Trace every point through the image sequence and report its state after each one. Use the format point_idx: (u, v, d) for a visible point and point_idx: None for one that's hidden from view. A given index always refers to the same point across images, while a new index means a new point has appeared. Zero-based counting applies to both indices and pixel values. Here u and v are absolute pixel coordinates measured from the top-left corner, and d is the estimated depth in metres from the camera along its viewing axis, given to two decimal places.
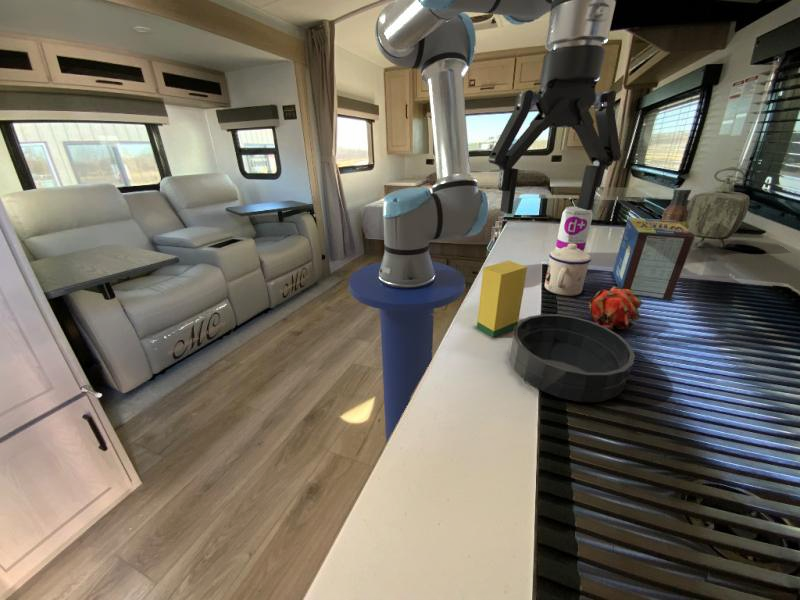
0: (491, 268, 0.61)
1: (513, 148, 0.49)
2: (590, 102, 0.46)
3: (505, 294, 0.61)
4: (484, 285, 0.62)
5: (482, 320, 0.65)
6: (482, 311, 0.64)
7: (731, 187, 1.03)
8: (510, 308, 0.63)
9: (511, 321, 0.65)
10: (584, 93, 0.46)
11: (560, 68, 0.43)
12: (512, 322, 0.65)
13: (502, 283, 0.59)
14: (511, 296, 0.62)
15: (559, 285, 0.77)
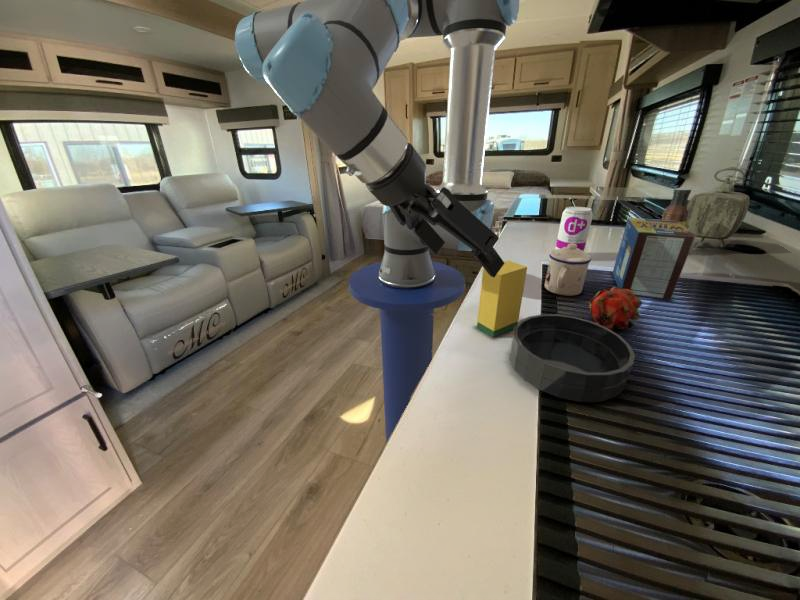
0: None
1: None
2: (423, 206, 0.42)
3: (505, 294, 0.61)
4: (484, 285, 0.62)
5: (482, 320, 0.65)
6: (482, 311, 0.64)
7: (731, 187, 1.03)
8: (510, 308, 0.63)
9: (511, 321, 0.65)
10: (413, 200, 0.42)
11: None
12: (512, 322, 0.65)
13: (502, 283, 0.59)
14: (511, 296, 0.62)
15: (559, 285, 0.77)
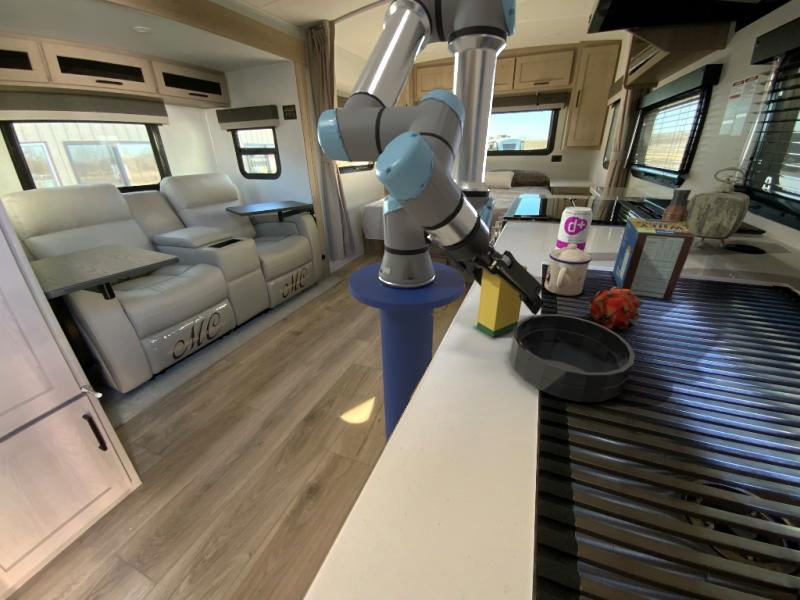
0: (491, 268, 0.61)
1: None
2: (486, 261, 0.52)
3: (505, 294, 0.61)
4: (484, 285, 0.62)
5: (482, 320, 0.65)
6: (482, 311, 0.64)
7: (731, 187, 1.03)
8: (510, 308, 0.63)
9: (511, 321, 0.65)
10: (477, 255, 0.52)
11: None
12: (512, 322, 0.65)
13: (502, 283, 0.59)
14: (511, 296, 0.62)
15: (559, 285, 0.77)
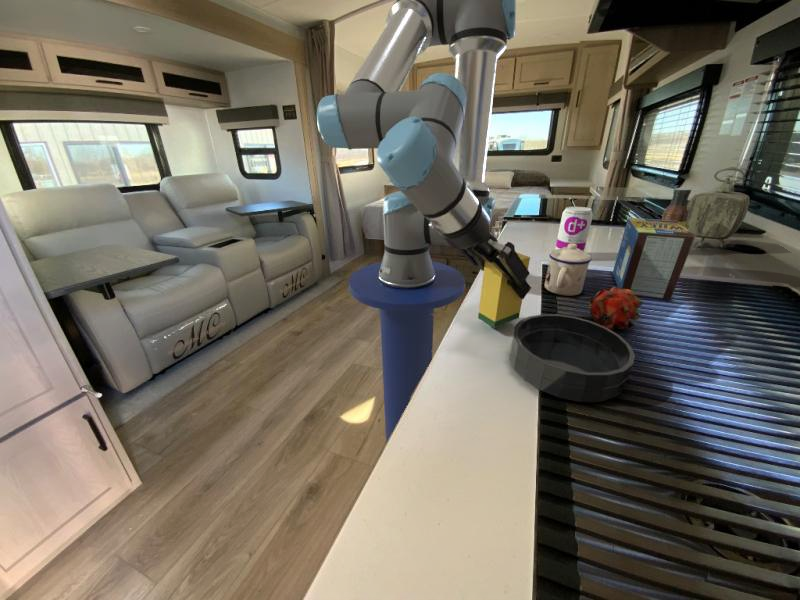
0: None
1: None
2: (486, 249, 0.52)
3: (507, 285, 0.60)
4: (486, 275, 0.61)
5: (483, 311, 0.64)
6: (484, 301, 0.64)
7: (731, 187, 1.03)
8: (512, 299, 0.63)
9: (513, 312, 0.65)
10: (478, 242, 0.51)
11: None
12: (514, 313, 0.65)
13: None
14: None
15: (559, 285, 0.77)
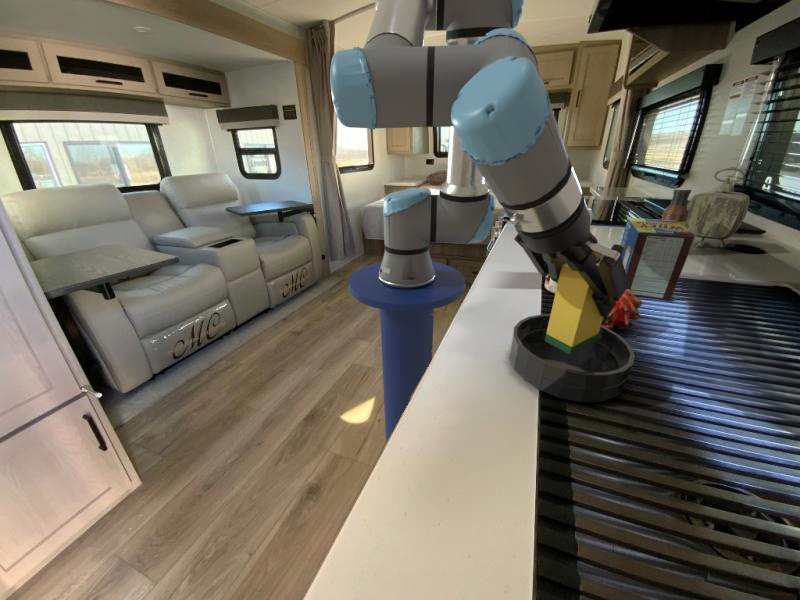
0: None
1: None
2: (581, 254, 0.38)
3: (591, 300, 0.46)
4: (562, 288, 0.48)
5: (554, 332, 0.51)
6: (556, 321, 0.50)
7: (731, 187, 1.03)
8: (593, 317, 0.49)
9: (591, 334, 0.51)
10: None
11: None
12: (592, 335, 0.51)
13: None
14: None
15: None
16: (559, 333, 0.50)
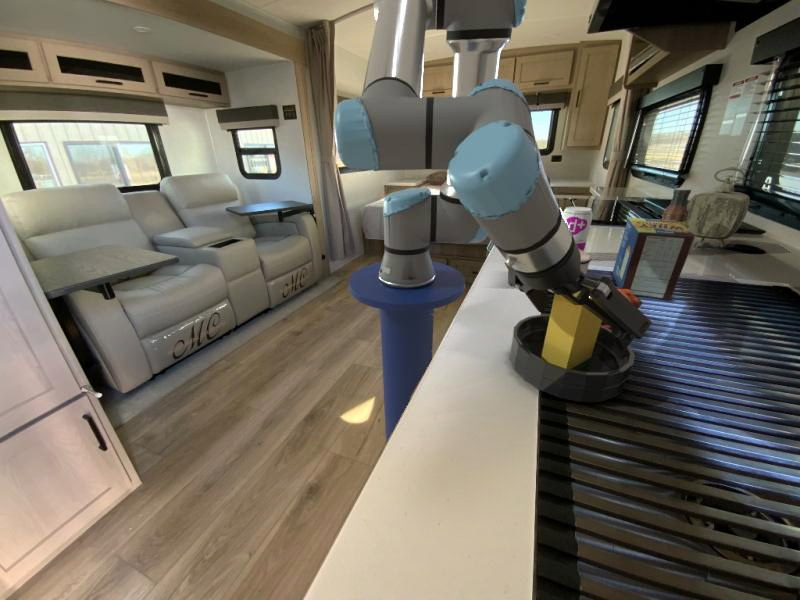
0: None
1: None
2: (572, 290, 0.40)
3: (583, 328, 0.49)
4: (555, 316, 0.50)
5: (548, 357, 0.53)
6: (550, 346, 0.52)
7: (731, 187, 1.03)
8: (585, 343, 0.51)
9: (584, 358, 0.53)
10: None
11: None
12: (585, 359, 0.53)
13: (582, 315, 0.47)
14: (588, 329, 0.50)
15: None
16: (553, 358, 0.52)
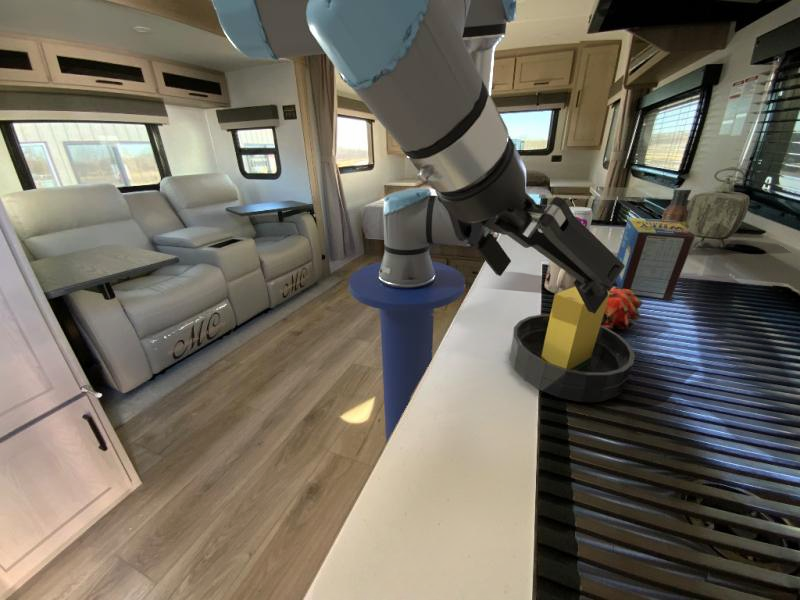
0: (565, 295, 0.49)
1: None
2: (518, 223, 0.30)
3: (583, 328, 0.49)
4: (555, 316, 0.50)
5: (548, 357, 0.53)
6: (550, 346, 0.52)
7: (731, 187, 1.03)
8: (585, 343, 0.51)
9: (584, 358, 0.53)
10: (503, 214, 0.30)
11: None
12: (585, 359, 0.53)
13: (582, 315, 0.47)
14: (588, 329, 0.50)
15: (559, 285, 0.77)
16: (553, 358, 0.52)
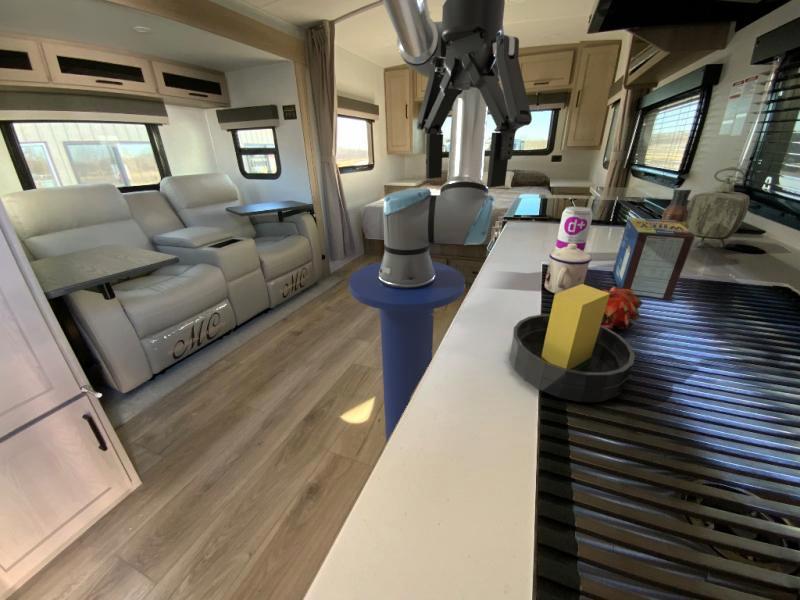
0: (565, 295, 0.49)
1: None
2: (481, 55, 0.40)
3: (583, 328, 0.49)
4: (555, 316, 0.50)
5: (548, 357, 0.53)
6: (550, 346, 0.52)
7: (731, 187, 1.03)
8: (585, 343, 0.51)
9: (584, 358, 0.53)
10: (475, 46, 0.41)
11: None
12: (585, 359, 0.53)
13: (582, 315, 0.47)
14: (588, 329, 0.50)
15: (559, 285, 0.77)
16: (553, 358, 0.52)
